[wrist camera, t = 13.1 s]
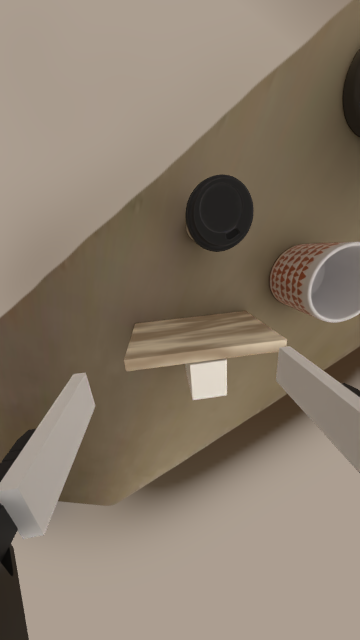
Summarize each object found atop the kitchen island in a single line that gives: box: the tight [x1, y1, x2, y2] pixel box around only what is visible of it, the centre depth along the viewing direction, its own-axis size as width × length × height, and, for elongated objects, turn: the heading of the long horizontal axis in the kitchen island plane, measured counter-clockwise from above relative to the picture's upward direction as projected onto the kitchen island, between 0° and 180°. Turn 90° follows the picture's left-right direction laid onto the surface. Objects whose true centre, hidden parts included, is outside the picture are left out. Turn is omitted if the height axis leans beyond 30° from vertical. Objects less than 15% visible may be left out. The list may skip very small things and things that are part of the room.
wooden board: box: [124, 311, 287, 371], centre depth 40 cm, size 8×26×16 cm, turn 95°
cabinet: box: [185, 358, 227, 400], centre depth 37 cm, size 8×6×9 cm
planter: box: [270, 242, 360, 322], centre depth 39 cm, size 14×14×13 cm
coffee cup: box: [186, 175, 253, 252], centre depth 33 cm, size 9×9×15 cm
